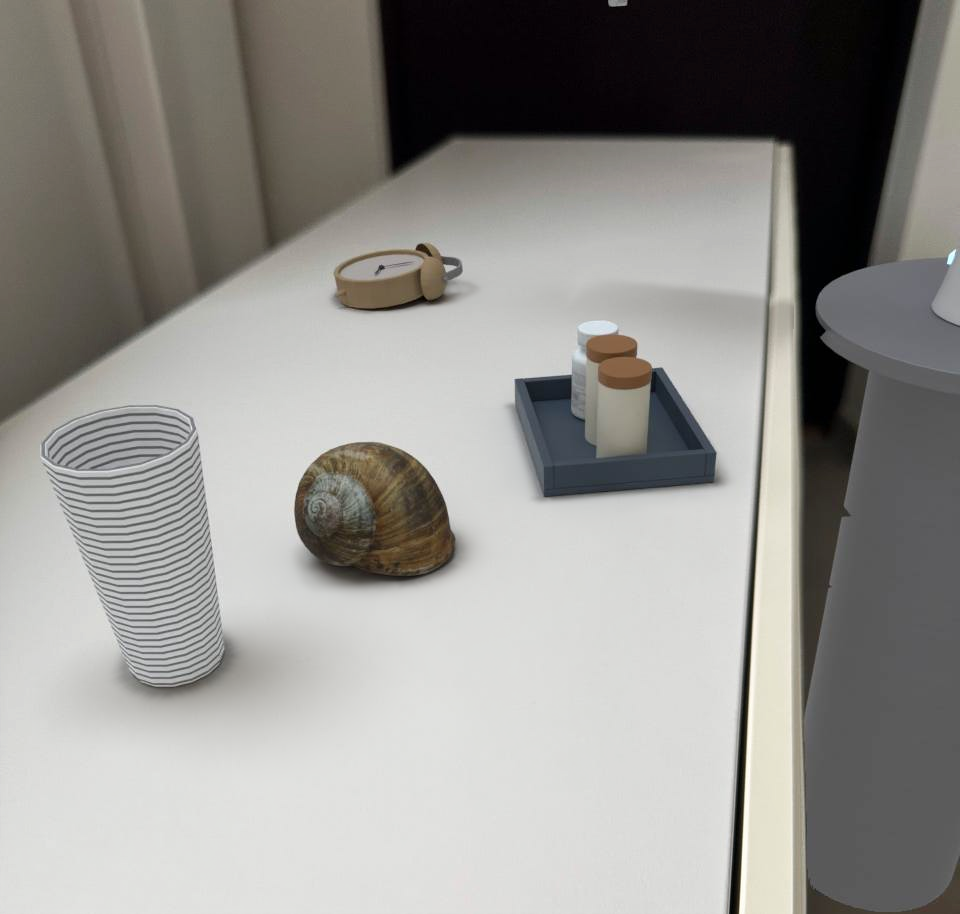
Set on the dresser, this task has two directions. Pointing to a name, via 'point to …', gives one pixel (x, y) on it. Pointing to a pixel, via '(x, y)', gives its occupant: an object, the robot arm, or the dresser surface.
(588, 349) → the matching bottles
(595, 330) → the pill bottle
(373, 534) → the seashell
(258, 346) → the dresser surface
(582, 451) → the tray
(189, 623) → the cup
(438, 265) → the alarm clock
